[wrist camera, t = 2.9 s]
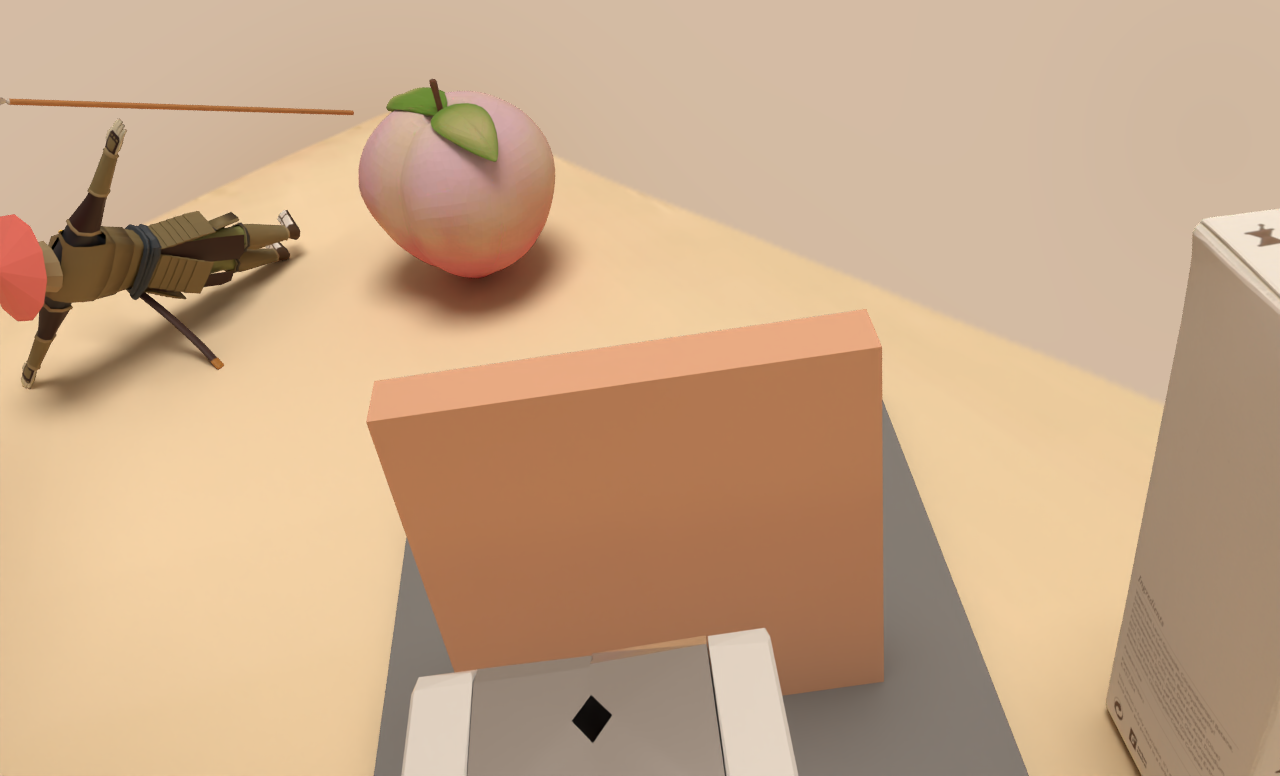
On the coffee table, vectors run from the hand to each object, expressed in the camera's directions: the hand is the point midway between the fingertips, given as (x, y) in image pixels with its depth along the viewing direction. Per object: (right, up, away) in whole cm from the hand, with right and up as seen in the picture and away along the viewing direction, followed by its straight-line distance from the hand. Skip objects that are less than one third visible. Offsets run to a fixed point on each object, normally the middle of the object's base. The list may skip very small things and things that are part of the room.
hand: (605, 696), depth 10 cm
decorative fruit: (-7, +8, +47) cm, 48 cm away
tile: (+1, -6, +24) cm, 25 cm away
